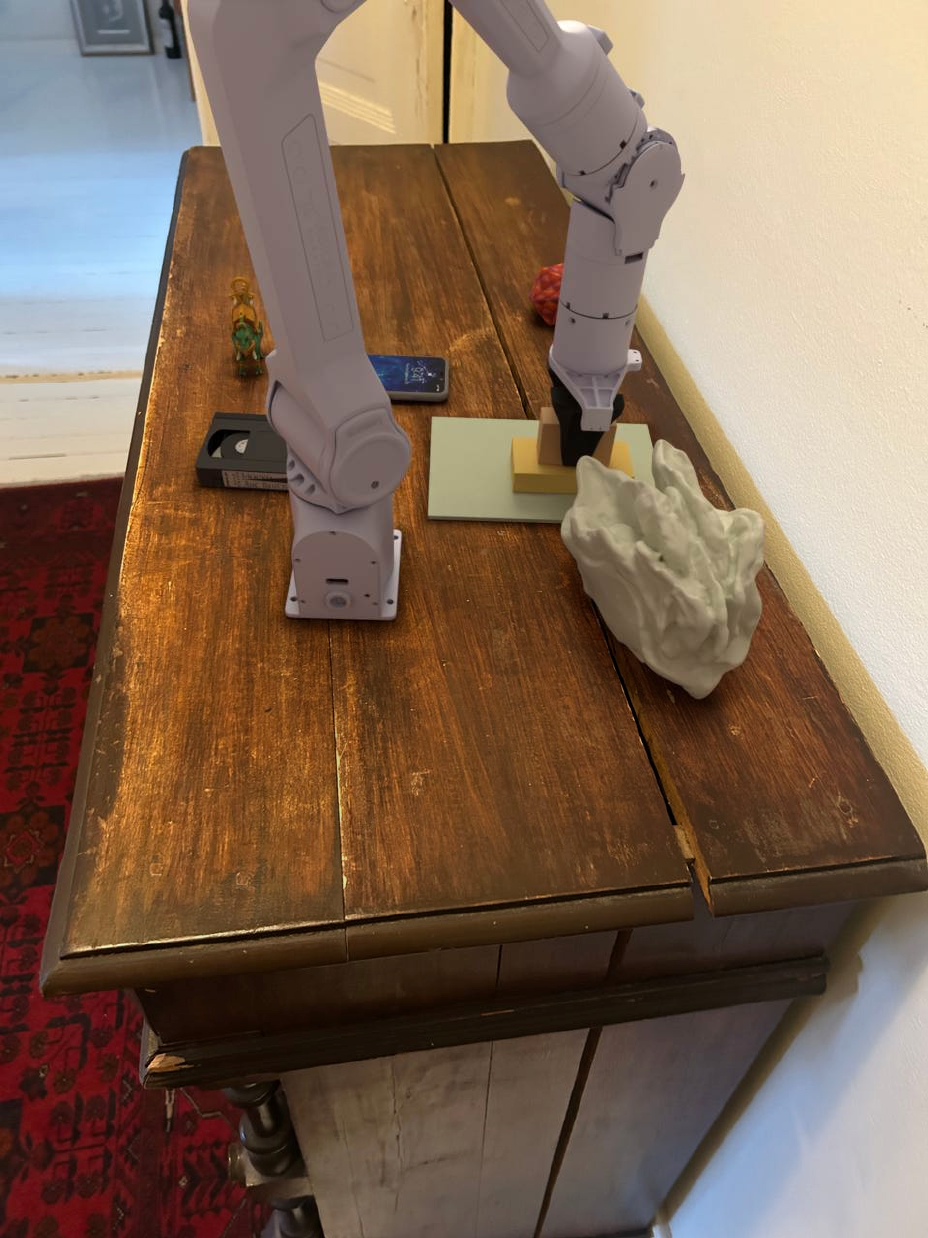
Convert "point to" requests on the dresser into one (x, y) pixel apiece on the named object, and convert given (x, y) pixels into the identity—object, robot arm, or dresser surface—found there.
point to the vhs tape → (242, 454)
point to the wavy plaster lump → (668, 567)
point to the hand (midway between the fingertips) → (573, 453)
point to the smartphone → (412, 376)
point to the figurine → (245, 325)
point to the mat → (503, 471)
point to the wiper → (559, 458)
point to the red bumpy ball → (547, 292)
